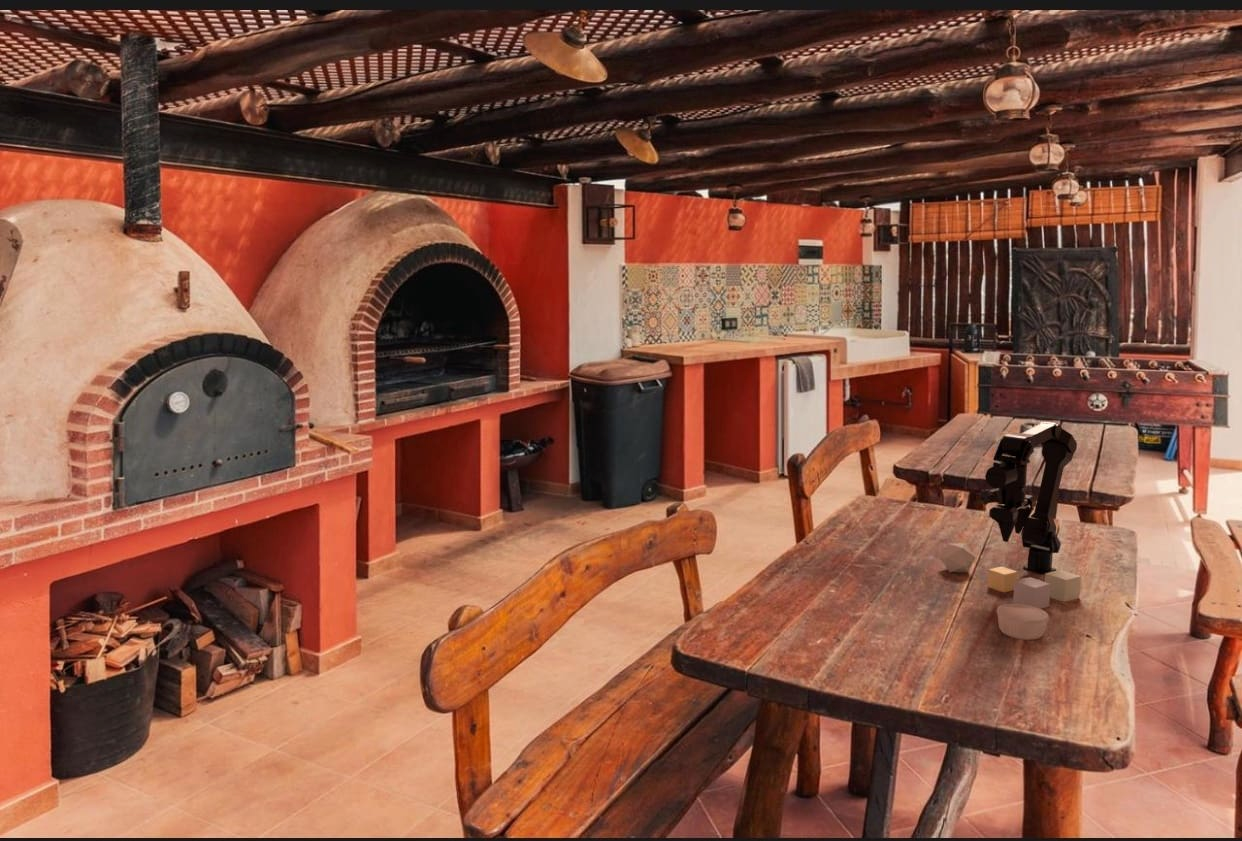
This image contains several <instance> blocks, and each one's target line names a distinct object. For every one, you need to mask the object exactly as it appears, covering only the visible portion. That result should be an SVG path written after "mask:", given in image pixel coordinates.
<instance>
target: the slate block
mask: <svg viewBox="0 0 1242 841" xmlns="http://www.w3.org/2000/svg"><path fill="white" fill-rule="evenodd" d="M1050 587H1051V584H1050V583H1047V582H1045V581H1042V580H1040V579H1037V578H1034V577H1031V576H1029V577H1026V578H1022V579H1021V578H1020V579H1017V580H1016V581H1015V582H1014V590H1013V598H1012V600H1013V601H1012V604H1022V605H1028V606H1033V607H1036V608H1039V609H1041V610H1042V609H1045V608H1047V607H1048V608H1049V607H1050V599H1051V597H1050Z"/></svg>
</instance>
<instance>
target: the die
mask: <svg viewBox="0 0 1242 841" xmlns="http://www.w3.org/2000/svg"><path fill="white" fill-rule="evenodd" d="M975 559H976V556H975V554H974V553H973V552H972V550H971V549H970V548H969V546H968V544H966V543H965V542H963V543H962V542H961V543H959V542H956V543H950V542H949V543H947V544H946V547H945V548H944V550H943V552H942V554H941V556H940V560H941V562H942V563H943V565H944V566H945V568H946V569H947V570H948V572H949V573H951V572H957V573H969V571H970V569H971V567H972V565H973V563H974V561H975Z"/></svg>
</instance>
